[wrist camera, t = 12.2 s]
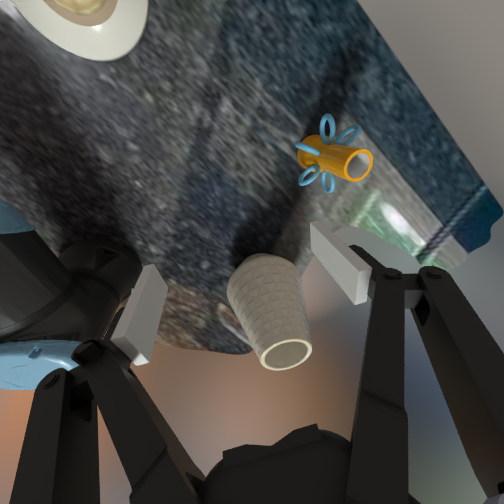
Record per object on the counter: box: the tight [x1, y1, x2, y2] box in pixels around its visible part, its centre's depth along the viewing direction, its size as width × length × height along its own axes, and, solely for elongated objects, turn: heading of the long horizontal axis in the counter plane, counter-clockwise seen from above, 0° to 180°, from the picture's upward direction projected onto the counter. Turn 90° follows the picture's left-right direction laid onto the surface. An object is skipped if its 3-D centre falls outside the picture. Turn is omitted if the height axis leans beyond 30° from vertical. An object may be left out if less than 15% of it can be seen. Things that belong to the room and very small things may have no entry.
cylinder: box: [295, 114, 373, 193], centre depth 33 cm, size 12×10×15 cm
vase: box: [227, 253, 312, 370], centre depth 43 cm, size 18×17×23 cm
